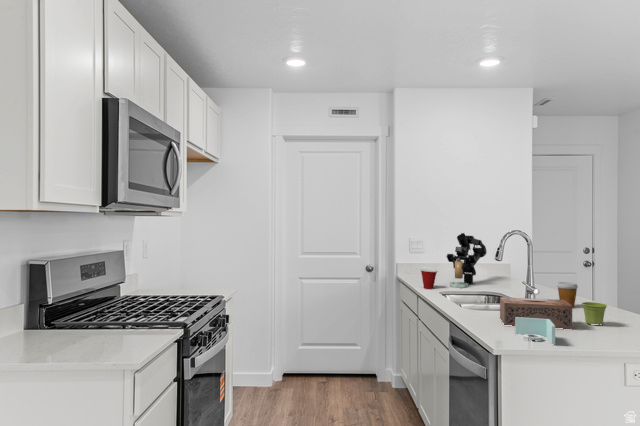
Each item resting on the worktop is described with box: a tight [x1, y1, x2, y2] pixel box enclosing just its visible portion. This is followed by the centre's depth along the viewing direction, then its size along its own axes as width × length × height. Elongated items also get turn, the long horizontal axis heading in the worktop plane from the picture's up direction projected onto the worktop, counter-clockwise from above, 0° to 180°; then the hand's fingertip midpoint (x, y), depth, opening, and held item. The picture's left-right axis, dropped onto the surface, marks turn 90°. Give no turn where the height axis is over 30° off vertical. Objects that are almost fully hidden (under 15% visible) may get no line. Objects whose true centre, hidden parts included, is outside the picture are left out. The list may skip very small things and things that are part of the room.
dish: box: [449, 281, 469, 289], centre depth 309 cm, size 11×11×2 cm
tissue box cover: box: [499, 296, 573, 330], centre depth 200 cm, size 26×14×10 cm, turn 76°
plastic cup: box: [420, 268, 438, 290], centre depth 300 cm, size 11×11×12 cm
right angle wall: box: [514, 317, 556, 345], centre depth 174 cm, size 12×12×8 cm
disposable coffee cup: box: [556, 281, 579, 309], centre depth 239 cm, size 10×10×12 cm
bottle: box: [454, 258, 464, 280], centre depth 309 cm, size 5×5×13 cm
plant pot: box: [581, 301, 608, 325], centre depth 200 cm, size 9×9×9 cm
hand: (457, 268), depth 308 cm, fingers closed on bottle, 5 cm apart
